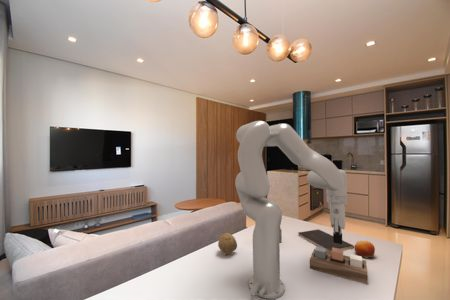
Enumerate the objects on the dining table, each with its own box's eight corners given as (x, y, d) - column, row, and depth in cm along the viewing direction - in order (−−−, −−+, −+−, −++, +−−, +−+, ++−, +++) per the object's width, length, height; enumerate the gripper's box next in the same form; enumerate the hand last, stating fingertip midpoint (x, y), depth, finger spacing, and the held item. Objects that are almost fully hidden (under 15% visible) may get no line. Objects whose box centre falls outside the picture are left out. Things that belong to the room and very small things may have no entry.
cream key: (362, 268, 78) (362, 260, 78) (350, 265, 80) (350, 258, 80) (361, 264, 82) (361, 256, 82) (350, 261, 84) (350, 253, 84)
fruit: (370, 259, 88) (361, 240, 92) (356, 261, 95) (348, 243, 99) (383, 257, 90) (374, 238, 95) (369, 259, 97) (361, 241, 101)
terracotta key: (342, 261, 82) (342, 253, 82) (331, 258, 84) (331, 251, 84) (343, 256, 85) (343, 249, 85) (332, 254, 87) (332, 247, 87)
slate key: (325, 259, 85) (325, 252, 85) (314, 257, 87) (314, 250, 87) (326, 255, 89) (326, 248, 89) (316, 253, 91) (316, 246, 91)
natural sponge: (213, 253, 98) (213, 233, 98) (227, 247, 104) (227, 228, 104) (226, 261, 91) (226, 238, 91) (240, 254, 97) (240, 233, 97)
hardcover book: (329, 254, 97) (329, 249, 97) (297, 236, 119) (297, 232, 119) (354, 249, 102) (354, 244, 102) (319, 232, 124) (319, 229, 124)
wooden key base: (367, 284, 74) (367, 274, 74) (309, 268, 85) (309, 259, 85) (366, 268, 84) (366, 260, 84) (314, 256, 95) (314, 248, 95)
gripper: (346, 203, 77) (347, 252, 76) (347, 196, 89) (348, 238, 89) (324, 201, 81) (325, 247, 80) (328, 194, 93) (329, 234, 93)
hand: (337, 242), depth 85 cm, fingers closed
